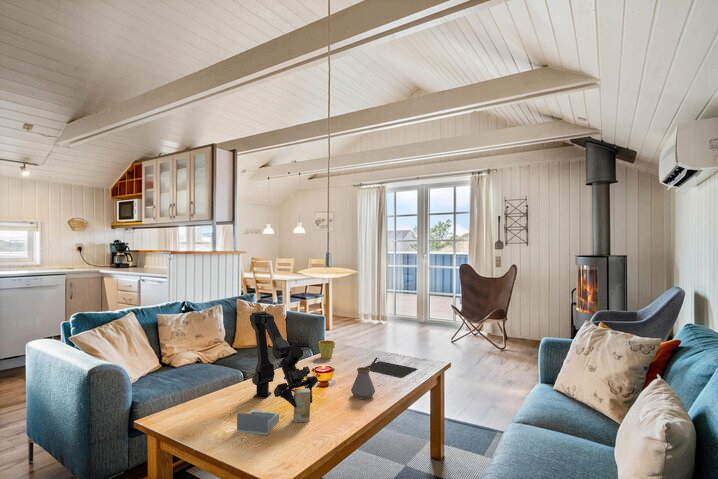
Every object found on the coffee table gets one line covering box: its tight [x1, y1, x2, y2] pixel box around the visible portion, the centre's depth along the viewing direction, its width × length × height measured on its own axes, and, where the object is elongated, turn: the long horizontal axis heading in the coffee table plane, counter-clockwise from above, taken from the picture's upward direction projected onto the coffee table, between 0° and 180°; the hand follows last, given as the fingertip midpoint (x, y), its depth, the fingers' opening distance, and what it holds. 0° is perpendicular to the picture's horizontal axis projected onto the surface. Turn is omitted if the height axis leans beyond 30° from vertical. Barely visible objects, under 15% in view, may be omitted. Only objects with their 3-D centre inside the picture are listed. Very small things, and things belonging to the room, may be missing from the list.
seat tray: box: [236, 409, 280, 436], centre depth 157 cm, size 12×12×7 cm
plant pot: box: [318, 339, 336, 360], centre depth 255 cm, size 10×10×10 cm
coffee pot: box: [350, 357, 380, 400], centre depth 195 cm, size 21×12×15 cm, turn 152°
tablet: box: [365, 360, 419, 379], centre depth 233 cm, size 27×1×20 cm
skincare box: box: [293, 388, 311, 424], centre depth 164 cm, size 6×4×12 cm
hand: (303, 404), depth 163 cm, fingers closed on skincare box, 7 cm apart
